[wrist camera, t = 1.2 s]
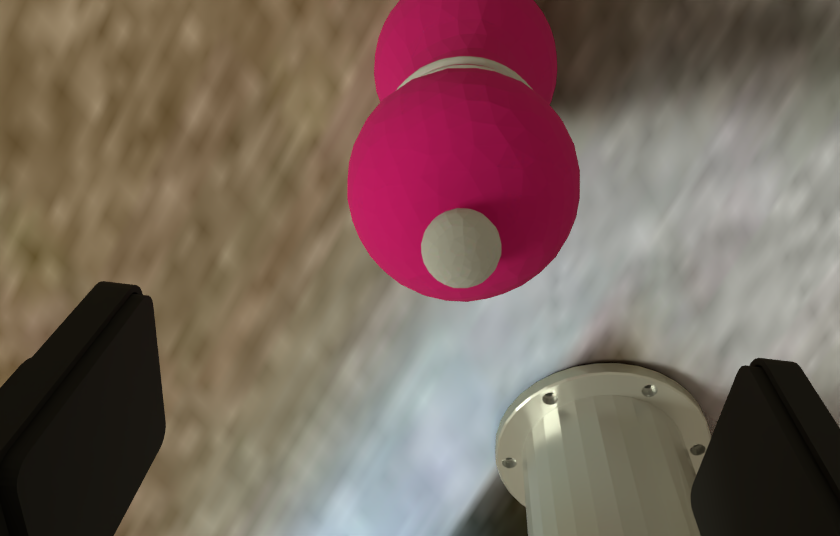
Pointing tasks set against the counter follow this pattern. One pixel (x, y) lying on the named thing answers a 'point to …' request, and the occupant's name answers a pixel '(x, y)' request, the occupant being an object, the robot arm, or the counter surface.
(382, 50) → the magenta skittle
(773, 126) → the counter surface
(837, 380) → the counter surface
